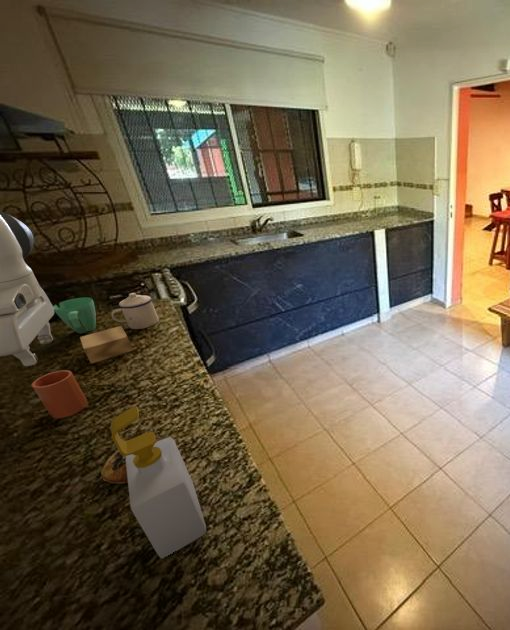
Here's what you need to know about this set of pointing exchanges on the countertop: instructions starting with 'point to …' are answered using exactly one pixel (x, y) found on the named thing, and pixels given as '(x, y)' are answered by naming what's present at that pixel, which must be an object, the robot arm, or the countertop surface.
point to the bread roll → (117, 468)
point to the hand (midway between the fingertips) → (40, 352)
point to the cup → (60, 393)
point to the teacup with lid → (137, 311)
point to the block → (106, 344)
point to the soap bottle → (159, 488)
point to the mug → (78, 314)
